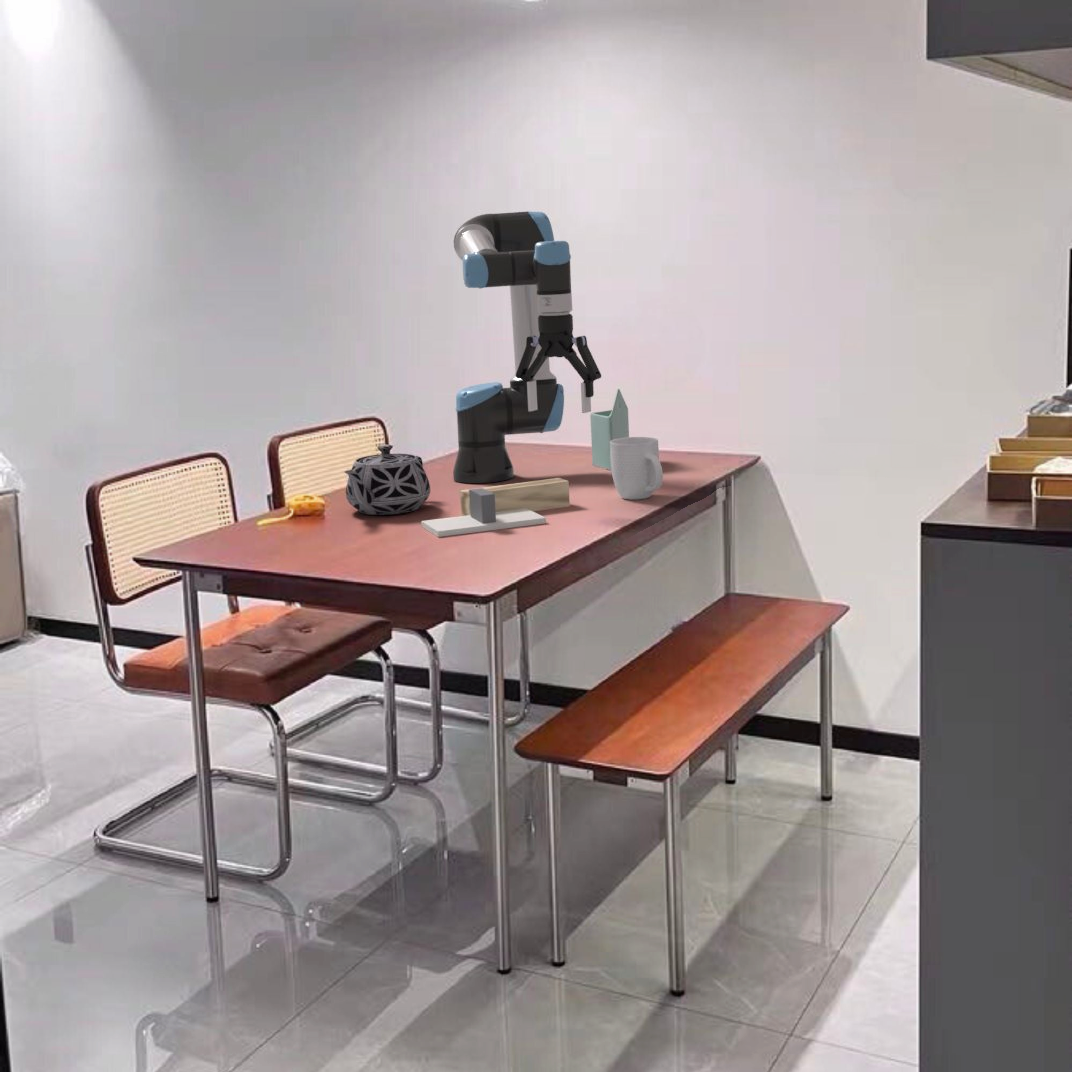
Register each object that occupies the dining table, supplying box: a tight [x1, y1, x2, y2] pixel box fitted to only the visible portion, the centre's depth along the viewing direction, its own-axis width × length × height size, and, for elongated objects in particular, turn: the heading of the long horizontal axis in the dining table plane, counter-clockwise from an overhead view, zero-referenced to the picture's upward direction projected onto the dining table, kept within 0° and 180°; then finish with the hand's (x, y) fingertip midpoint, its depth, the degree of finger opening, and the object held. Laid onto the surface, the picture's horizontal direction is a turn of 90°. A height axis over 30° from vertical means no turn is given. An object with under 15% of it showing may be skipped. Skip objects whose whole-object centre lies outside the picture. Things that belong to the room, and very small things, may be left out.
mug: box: [610, 436, 664, 501], centre depth 333 cm, size 15×11×13 cm
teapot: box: [343, 444, 431, 516], centre depth 333 cm, size 19×31×15 cm, turn 153°
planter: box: [589, 388, 630, 472], centre depth 377 cm, size 16×8×20 cm, turn 162°
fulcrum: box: [421, 487, 547, 538], centre depth 314 cm, size 12×24×7 cm, turn 111°
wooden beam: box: [459, 477, 571, 516], centre depth 327 cm, size 5×24×6 cm, turn 114°
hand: (559, 411), depth 323 cm, fingers open, 13 cm apart
